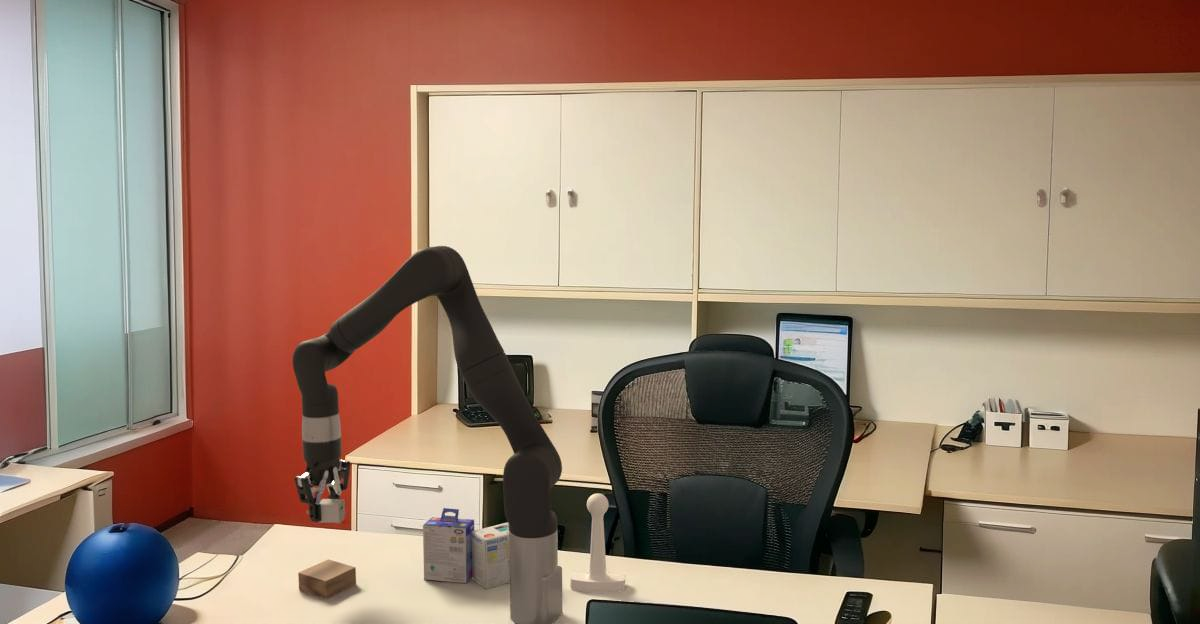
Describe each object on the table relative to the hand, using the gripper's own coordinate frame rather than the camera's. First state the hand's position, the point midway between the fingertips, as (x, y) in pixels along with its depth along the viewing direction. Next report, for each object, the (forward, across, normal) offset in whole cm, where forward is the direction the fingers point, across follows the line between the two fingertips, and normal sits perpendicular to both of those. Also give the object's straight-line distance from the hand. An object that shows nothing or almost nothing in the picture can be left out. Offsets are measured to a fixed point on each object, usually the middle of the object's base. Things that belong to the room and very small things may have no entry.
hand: (325, 516), depth 187 cm
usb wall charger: (+1, 0, 0) cm, 1 cm away
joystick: (+15, +25, -50) cm, 58 cm away
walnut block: (+15, 0, 0) cm, 15 cm away
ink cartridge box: (+15, +15, -20) cm, 29 cm away
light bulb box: (+15, +19, -30) cm, 39 cm away
